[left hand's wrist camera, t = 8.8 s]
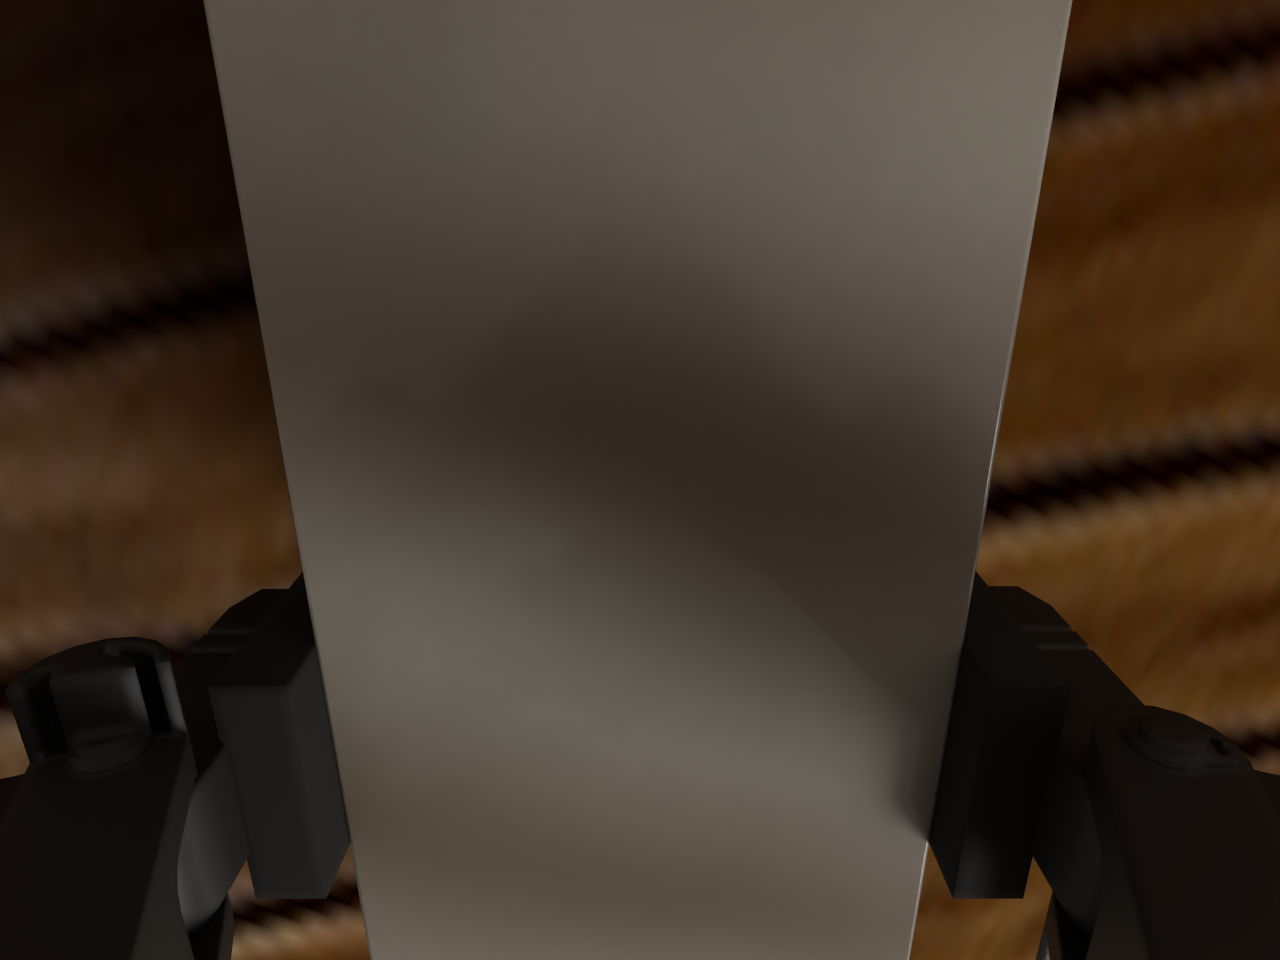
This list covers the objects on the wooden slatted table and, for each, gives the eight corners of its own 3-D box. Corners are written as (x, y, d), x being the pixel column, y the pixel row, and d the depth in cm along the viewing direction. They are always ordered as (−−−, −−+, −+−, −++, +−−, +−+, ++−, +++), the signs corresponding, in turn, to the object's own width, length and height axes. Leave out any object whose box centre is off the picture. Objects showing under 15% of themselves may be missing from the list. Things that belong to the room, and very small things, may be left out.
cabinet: (442, -266, 14) (-24, -1279, 4) (833, -266, 14) (1295, -1279, 4) (505, 610, 20) (380, 1030, 11) (773, 610, 20) (899, 1029, 10)
